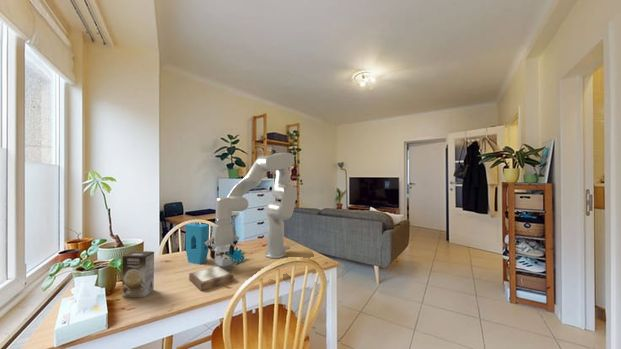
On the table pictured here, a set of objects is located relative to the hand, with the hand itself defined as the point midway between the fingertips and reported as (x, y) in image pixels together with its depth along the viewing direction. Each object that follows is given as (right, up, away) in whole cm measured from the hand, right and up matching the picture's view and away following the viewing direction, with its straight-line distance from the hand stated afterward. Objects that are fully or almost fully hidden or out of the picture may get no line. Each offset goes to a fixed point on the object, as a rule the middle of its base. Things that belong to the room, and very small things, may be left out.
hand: (222, 256), depth 127 cm
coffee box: (-25, -7, -25) cm, 36 cm away
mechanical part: (-8, -6, +24) cm, 26 cm away
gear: (+4, -7, +11) cm, 14 cm away
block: (-17, -6, +10) cm, 21 cm away
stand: (-1, -7, -13) cm, 15 cm away
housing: (0, -7, +1) cm, 7 cm away
